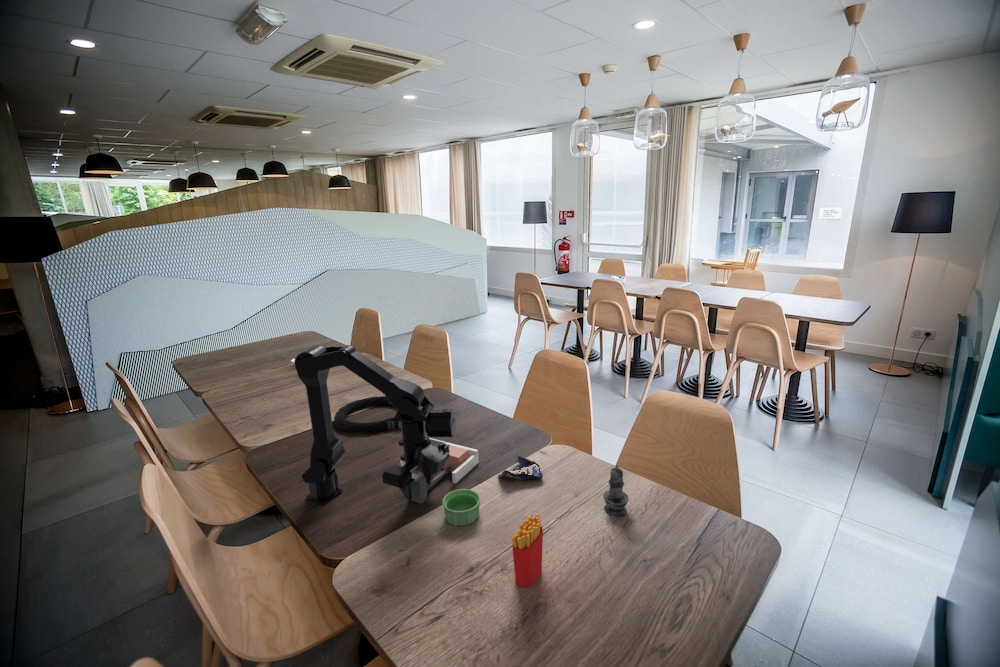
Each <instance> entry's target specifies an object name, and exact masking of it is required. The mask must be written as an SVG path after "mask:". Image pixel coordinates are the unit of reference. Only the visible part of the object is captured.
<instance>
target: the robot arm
mask: <svg viewBox="0 0 1000 667" xmlns="http://www.w3.org/2000/svg"><path fill="white" fill-rule="evenodd" d="M341 366H342V367H345V369H347V370H349V371H350V372H352V373H353V374H354V375H356V376H357V377H359V378H361V379H362V380H363V381H365V382H366V383H368V384H369V385H371V386H372V387H374V388H375V389H377V390H378V391H379V392H381V393H382V394H383V396H386V397H387V399H388V401H389V402H390V404H391V405H392V406H393V407H394V409H395V410H397V411H396V412H395V414H393V416H392V417H393V418H392V419H391V421H392V422H400V424H401V429H400V431H401V439H400V440H399V441H398V446H401V447H402V450H403V454H402V455H401V456H400V458H399V460H400V459H401V460H402V461H405V463H406V464H405V465H404V466H402V467H401V465H397V464H393V465H392V466H390V467H389V468H388V469H386V470H385V471H383V473H382V474H381V476H382V477H381V479H382V483H383V484H386V485H388V486H389V485H390V486H392V487H395V488H398V489H399V490H400V491H401V493H402V494H403V495H404V498H405V499H406V500H407V501H412V500H411V498H412V490H411V483H412V482H413V481H414V480H415V479H413V478H412V474H413V473H412V472H413V470H415V469H416V468H418V467H420V468H421V472H422V475H423V477H426V484H430V483H431V480H433V474H436V473H438V472H439V471H440V470H441V469H442V467H444V466H445V462H446V459H448V458H449V457H450V455H449V446H448V444H446V443H445V442H446V441H444V443H443V442H440V441H441V440H440V441H436V440H437V439H436V440H432V439H433V438H454V437H455V434H456V430H457V429H456V427H457V423H456V422H457V420H456V417H455V414H454V413H453V412H454V411H453V408H444V409H434V404H433V403H432V402H431V401H430V400H429V399H428V397H427V396H426V395H425V390H424V389H423V388H422V387H421V386H420V385H418V384H416V383H414V382H412V381H410V380H408V379H404V378H399V377H397V376H395V375H393V374H392V373H390V372H389V371H387V370H386V369H384V368H383V367H381V366H380V365H378V364H377V363H376V362H374V361H373V360H372V359H370V358H368V357H367V356H365V355H364V354H363V353H361V352H359V351H358V350H357V349H356V348H355V347H354V346H353V345H349V344H347V345H345V346H341V345H340V346H339V345H338V346H334V345H333V346H327V347H326V346H325V347H324V346H321V345H313V346H312V347H309V348H307V349H306V350H304V351H302V352H300V353H299V354H297V356H296V357H295V359H294V367H295V371H296V373H297V376H298V379H299V380H300V381H301V382H302V383H303V385H304V386H305V390H306V395H307V396H306V397H307V403H308V410H309V417H310V422H311V429H312V436H313V438H312V439H313V440H312V441H313V442H312V446H311V450H310V454H309V467H307V469H306V470H305V471H304V472H303V474H302V475H301V478H302V479H303V482H304V483H305V484H307V485H308V490H309V494H307V495H306V499H307V500H309V501H311V502H315V503H318V504H320V505H325V504H326V503H328V502H329V501H331V500H332V499H334V498H335V497H337V496H338V495H340V494H342V492H343V489H341V488H339V478H338V473H337V471H336V469H335V468H336V467H337V466H338V464H339V462H340V461H341V460H342V459H343V457H344V453H346V450H345V448H344V438H338V437H337V436H336V435H335V432H334V428H333V420H332V419H333V418H332V412H331V406H330V405H331V403H330V398H329V390H328V384H327V383H328V377H329V374H330V371H331V368H337V367H341ZM391 405H390V406H391ZM420 407H422V408H421V409H420ZM426 435H427V436H426ZM429 438H432V439H429Z"/></svg>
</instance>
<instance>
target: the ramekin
mask: <svg viewBox="0 0 1000 667" xmlns="http://www.w3.org/2000/svg"><path fill="white" fill-rule="evenodd" d="M480 504H481V496H480V495H479V493H478V492H476V491H474V490H472V489H467V488H460V489H455V490H452V491H450V492H448V493H447V494H445V496H444V497H443V498H442V508H443V511H444V516H445V519H447V520H448V521H447V520H446V521H447V522H448V523H449V522H450V523H449V524H451V523H452V524H451V525H453V524H454V525H453V526H456V525H460V526H459V527H463V526H462V525H465V526H468V524H469V525H471V524H473V523H474V522H476V521H477V520H478V518H479V515H480ZM476 519H477V520H476ZM475 520H476V521H475ZM470 523H471V524H470Z"/></svg>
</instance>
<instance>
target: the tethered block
mask: <svg viewBox="0 0 1000 667" xmlns="http://www.w3.org/2000/svg"><path fill="white" fill-rule="evenodd" d="M449 455H450V457H449V458H448V459H446V462H445V466H444V467H442V468H441V469H442V471H441V472H439V473H438V474H437V475H436V476H435V477H434V478H432V479H431V483H430V484H427V483H426V477H424V475H423V476H422V475H419V474H417V473H412V478H413V479H415V480H414V481H413V482H412V483H411V490H412V498H411V500H410V501H412V502H415V503H418V504H423V503H424V502H425V501H426V500H427V499H428V490H429V489H430V488H432V486H434V485H435V484H436V483H437V482H438V481H440V480H441V479H442V478H443V477H444V476H445V475H447V474H448V473H450V472H451V473H452V472H453V471H455V470H456V469H457V468H458V467H459V466H460V465H461V464H463V463H464V462H465V461H466V460H467V459H468V458H469V454H468V450H467V449H463V448H460V447H456V446H452V445H451V446H449Z"/></svg>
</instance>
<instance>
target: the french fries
mask: <svg viewBox="0 0 1000 667" xmlns="http://www.w3.org/2000/svg"><path fill="white" fill-rule="evenodd" d="M532 515H533V514H530V515H528V517H527V519H526V520H525V521H524V522H522V523H520V525H519V526H518V527H519V530H518V531H516V532H515V533H514V534H513V535H512V537H511V540H512V544H511V545H512V556H513V557H512V558H513V566H514V567H513V569H514V577H515V584H516V585H519V586H521V587H523V588H527V587H531V586H532V585H533V584H534V583H535V582H536V581H537V579H538V578H539V577H540V575H541V574H542V570H543V566H542V565H543V541H544V540H543V538H544V535H543V534H544V531H543V529H544V528H543V526H542V525H541V522H542V520H541V519H540V513H538V514H537V513H536V515H535V516H534V517H533V516H532Z"/></svg>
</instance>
